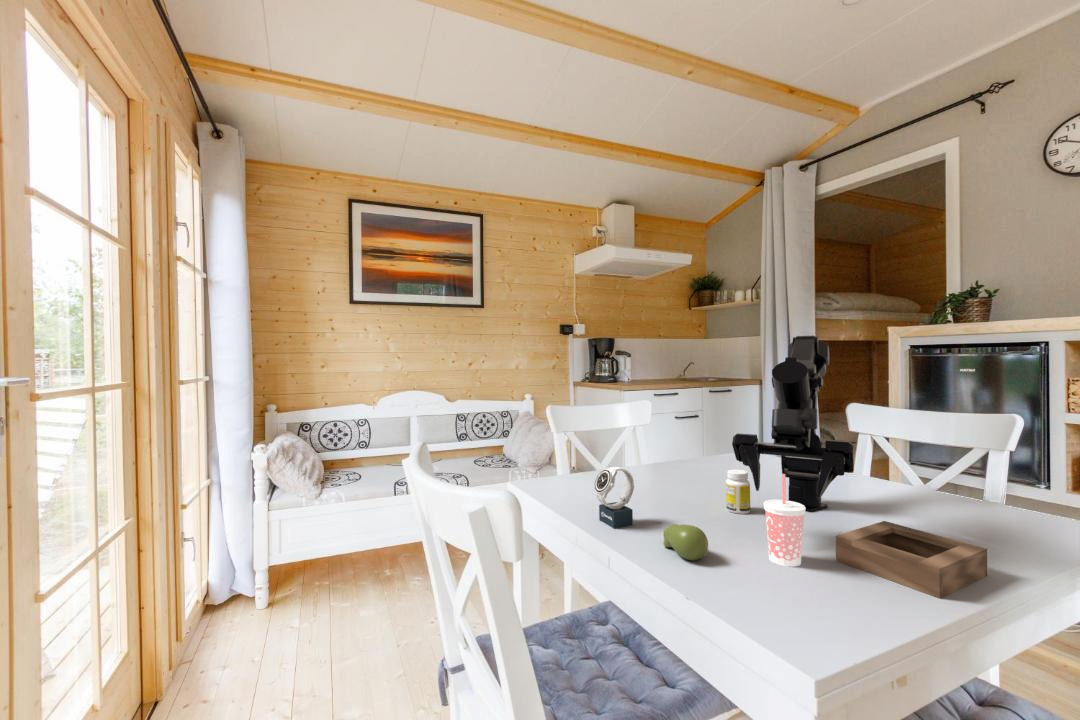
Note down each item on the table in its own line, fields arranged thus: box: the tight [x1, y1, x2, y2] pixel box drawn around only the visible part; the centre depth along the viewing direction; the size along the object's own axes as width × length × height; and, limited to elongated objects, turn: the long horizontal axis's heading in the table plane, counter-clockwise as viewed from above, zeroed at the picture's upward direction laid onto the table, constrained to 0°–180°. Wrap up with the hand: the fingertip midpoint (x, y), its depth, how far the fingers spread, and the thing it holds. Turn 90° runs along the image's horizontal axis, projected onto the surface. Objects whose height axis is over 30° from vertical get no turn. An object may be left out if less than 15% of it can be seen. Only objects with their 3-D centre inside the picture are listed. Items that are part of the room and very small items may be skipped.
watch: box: [594, 466, 635, 530], centre depth 97 cm, size 6×8×11 cm
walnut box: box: [835, 520, 988, 599], centre depth 75 cm, size 14×14×4 cm
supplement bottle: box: [725, 469, 751, 515], centre depth 103 cm, size 5×5×8 cm
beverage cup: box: [762, 473, 807, 568], centre depth 78 cm, size 6×6×14 cm
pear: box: [663, 524, 709, 561], centre depth 82 cm, size 6×5×10 cm
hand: (786, 493), depth 81 cm, fingers open, 9 cm apart
